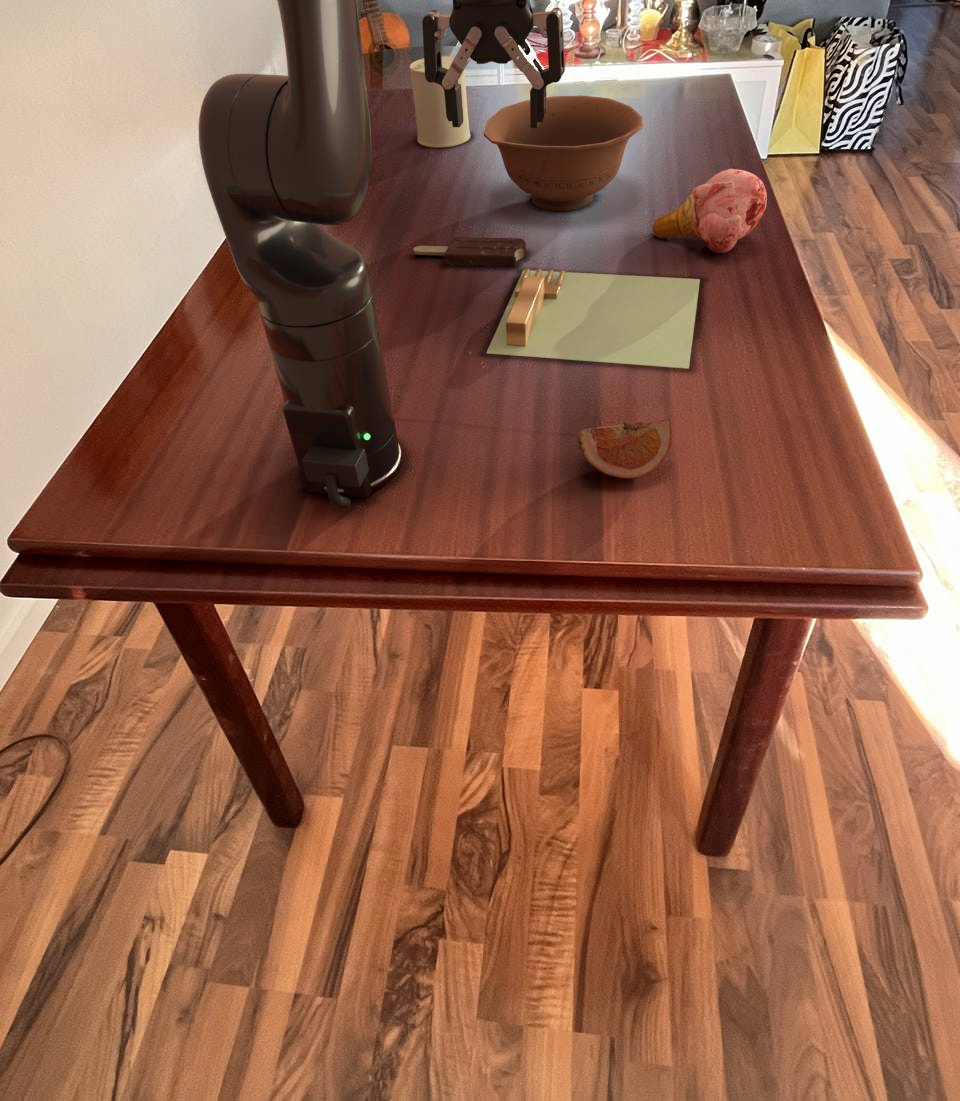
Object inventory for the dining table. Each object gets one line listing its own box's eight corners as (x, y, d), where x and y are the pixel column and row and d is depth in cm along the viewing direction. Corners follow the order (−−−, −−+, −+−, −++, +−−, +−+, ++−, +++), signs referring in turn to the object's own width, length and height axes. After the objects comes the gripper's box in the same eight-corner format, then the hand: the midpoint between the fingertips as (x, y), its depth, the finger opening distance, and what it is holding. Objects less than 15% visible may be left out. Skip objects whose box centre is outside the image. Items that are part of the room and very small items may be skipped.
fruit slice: (581, 494, 72) (583, 450, 69) (570, 448, 77) (570, 405, 74) (674, 485, 73) (680, 440, 69) (657, 439, 77) (661, 396, 74)
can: (409, 136, 142) (400, 59, 134) (457, 125, 145) (451, 49, 136) (429, 152, 136) (421, 72, 128) (479, 140, 139) (474, 61, 130)
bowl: (467, 224, 115) (460, 142, 107) (512, 166, 129) (510, 90, 121) (621, 237, 109) (626, 151, 101) (651, 174, 123) (657, 95, 115)
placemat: (688, 370, 85) (688, 368, 85) (486, 354, 90) (486, 353, 90) (699, 280, 99) (700, 279, 99) (523, 271, 104) (523, 269, 103)
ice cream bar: (409, 265, 107) (521, 268, 104) (407, 253, 106) (521, 256, 103) (419, 247, 110) (528, 250, 108) (418, 235, 109) (527, 238, 107)
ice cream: (631, 247, 103) (747, 212, 93) (638, 180, 105) (751, 138, 95) (670, 288, 111) (780, 259, 101) (675, 225, 113) (784, 190, 103)
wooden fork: (539, 347, 90) (538, 324, 88) (493, 343, 91) (492, 321, 89) (565, 274, 102) (566, 253, 100) (525, 272, 103) (524, 251, 101)
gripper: (403, -52, 74) (423, 137, 86) (557, -58, 71) (556, 138, 83) (426, -66, 79) (442, 114, 91) (570, -72, 76) (568, 114, 88)
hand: (496, 125), depth 87 cm, fingers open, 8 cm apart
